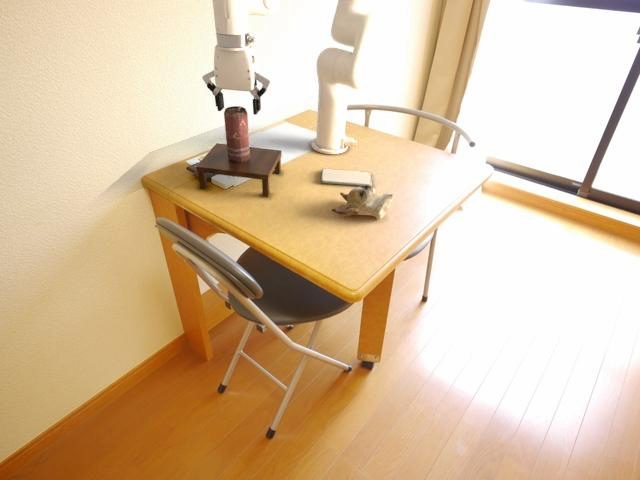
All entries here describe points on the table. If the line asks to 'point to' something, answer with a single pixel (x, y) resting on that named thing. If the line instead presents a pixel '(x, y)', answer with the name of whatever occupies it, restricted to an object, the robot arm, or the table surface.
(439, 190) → the table surface
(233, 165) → the side table
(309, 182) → the table surface
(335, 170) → the smartphone
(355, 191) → the ceramic sculpture
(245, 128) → the can
